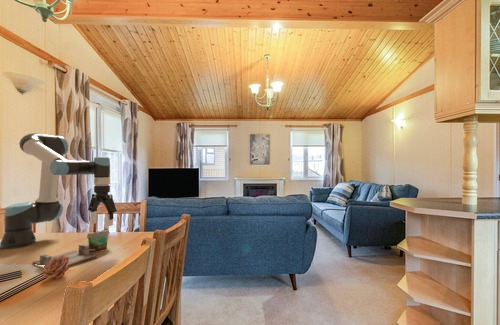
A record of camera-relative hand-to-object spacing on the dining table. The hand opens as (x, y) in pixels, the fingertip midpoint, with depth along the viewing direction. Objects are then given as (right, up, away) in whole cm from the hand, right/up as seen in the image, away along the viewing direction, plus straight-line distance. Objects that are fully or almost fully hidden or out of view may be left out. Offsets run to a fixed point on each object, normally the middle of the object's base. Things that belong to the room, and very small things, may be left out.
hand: (101, 224), depth 135 cm
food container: (0, -14, 0) cm, 14 cm away
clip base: (-7, -13, -17) cm, 23 cm away
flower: (+2, -13, -35) cm, 37 cm away
